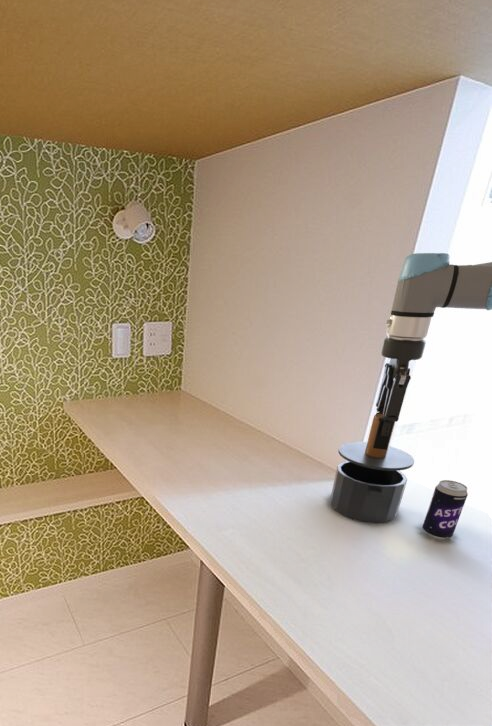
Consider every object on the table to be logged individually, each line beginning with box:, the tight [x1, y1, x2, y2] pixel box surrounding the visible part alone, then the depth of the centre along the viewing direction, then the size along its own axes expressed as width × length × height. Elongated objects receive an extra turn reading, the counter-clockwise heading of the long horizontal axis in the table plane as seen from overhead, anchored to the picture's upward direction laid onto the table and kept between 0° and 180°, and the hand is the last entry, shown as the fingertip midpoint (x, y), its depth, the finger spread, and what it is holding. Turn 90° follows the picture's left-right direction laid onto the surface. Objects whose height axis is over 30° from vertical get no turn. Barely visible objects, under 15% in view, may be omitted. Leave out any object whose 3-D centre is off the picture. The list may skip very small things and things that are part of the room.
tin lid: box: [338, 413, 415, 471], centre depth 98 cm, size 16×16×10 cm
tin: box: [329, 460, 408, 525], centre depth 104 cm, size 15×20×10 cm
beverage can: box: [422, 479, 468, 540], centre depth 93 cm, size 6×6×12 cm
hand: (378, 444), depth 99 cm, fingers closed on tin lid, 4 cm apart
